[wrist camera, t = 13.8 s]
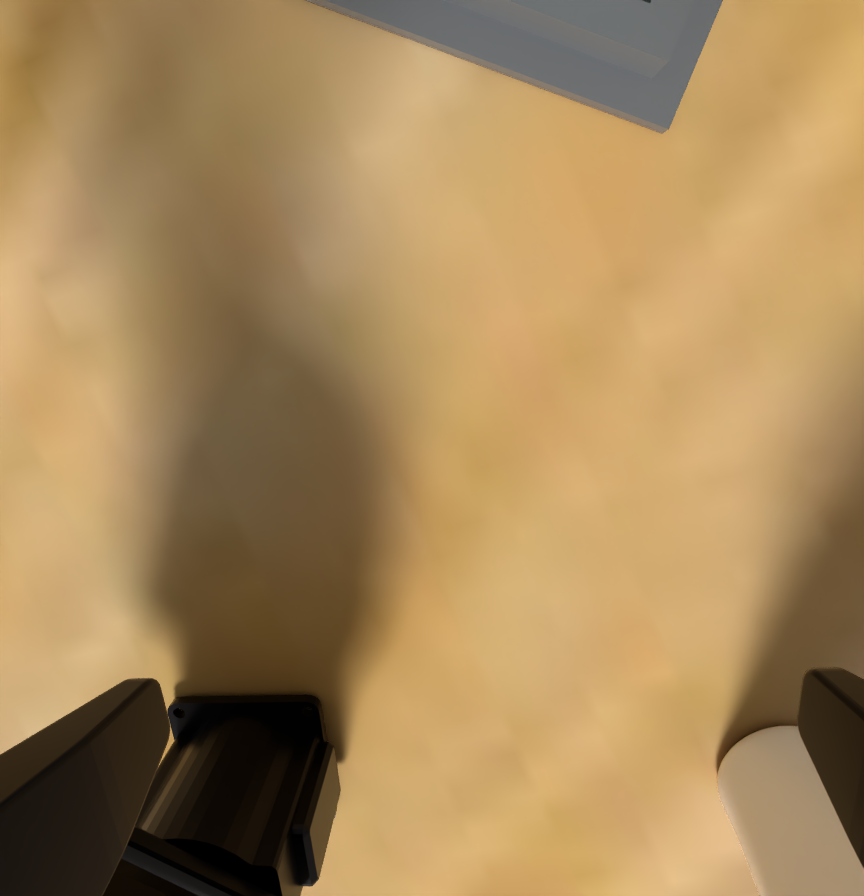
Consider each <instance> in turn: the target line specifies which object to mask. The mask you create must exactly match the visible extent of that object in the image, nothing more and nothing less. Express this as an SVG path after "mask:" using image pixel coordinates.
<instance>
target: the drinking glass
mask: <svg viewBox="0 0 864 896" xmlns="http://www.w3.org/2000/svg"><path fill="white" fill-rule="evenodd" d="M717 790H718V795H719V798H720V801H721V804H722V806H723V809H724V811H725V813H726V815H727V817H728V819H729V822H730V824H731V826H732V828H733V830H734V832H735V835H736V837H737V839H738V842H739V844H740V847H741V849H742V852H743V855H744V857H745V860H746V863H747V865H748V868H749V870H750V873H751V876H752V878H753V881H754V884H755V886H756V889H757V892H758V894H759V896H864V868H863V866H862V865H861V863H860V861H859V859H858V857H857V855H856V853H855V851H854V849H853V847H852V845H851V843H850V841H849V839H848V837H847V835H846V833H845V831H844V829H843V826H842V824H841V822H840V820H839V818H838V816H837V814H836V812H835V809H834V807H833V805H832V803H831V801H830V799H829V797H828V794H827V792H826V790H825V788H824V786H823V784H822V782H821V779H820V777H819V775H818V773H817V771H816V769H815V767H814V764H813V762H812V760H811V758H810V756H809V754H808V752H807V750H806V747H805V745H804V743H803V741H802V739H801V736H800V733H799V730H798V726H775V727H770V728H766V729H762V730H759V731H757V732H754V733H752V734H750V735H748V736H746V737H745V738H743V739H741V740H740V741H739V742H737V743H736V744H735V745H734V746H733V747H732V748H731V749H730V750H729V751H728V753H727V754H726V755H725V757H724V758H723V760H722V762H721V764H720V767H719V770H718V775H717Z"/></svg>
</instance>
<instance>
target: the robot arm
mask: <svg viewBox="0 0 864 896" xmlns="http://www.w3.org/2000/svg"><path fill="white" fill-rule="evenodd" d="M305 707H310V708H311V709H312V710H309V709H307V708H305ZM179 708H180V709H182V710H183V711H182V710H180V709H179ZM168 716H169V718H168ZM169 720H170V722H169ZM170 724H171V728H172V732H173V736H174V740H175V741H174V742H173V744H172V746H171V747H170V749H169V750H168V752H167V754H166V755H165V757H164V758H163V760H162V762H161V763H160V761H161V758H162V755H163V753H164V750H165V748H166V745H167V742H168V739H169V734H170ZM797 724H798V730H799V733H800V736H801V739H802V741H803V743H804V745H805V747H806V750H807V752H808V754H809V756H810V758H811V760H812V762H813V764H814V767H815V769H816V771H817V773H818V775H819V777H820V779H821V782H822V784H823V786H824V788H825V790H826V792H827V794H828V797H829V799H830V801H831V803H832V805H833V807H834V809H835V812H836V814H837V816H838V818H839V820H840V822H841V824H842V826H843V829H844V831H845V833H846V835H847V837H848V839H849V841H850V843H851V845H852V847H853V849H854V851H855V853H856V855H857V857H858V859H859V861H860V863H861V865H862V866H863V868H864V680H863V679H862V678H860V677H858V676H856V675H854V674H852V673H850V672H848V671H846V670H844V669H841V668H810V669H808V670H807V671H806V672H805V674H804V676H803V681H802V688H801V694H800V701H799V708H798V715H797ZM159 763H160V765H159ZM339 795H340V783H339V776H338V769H337V763H336V756H335V749H334V746H333V745H332V744H331V742H327V736H326V730H325V724H324V717H323V711H322V704H321V702H320V700H319V699H318V698H317V697H315V696H312V695H264V696H190V697H177V698H176V699H174V700H173V702H172V703H171V705H170V706H169V708H168V714H167V710H166V706H165V702H164V698H163V694H162V690H161V687H160V684H159V683H158V681H157V680H155V679H152V678H136V679H127V680H125V681H123V682H121V683H119V684H118V685H116V686H114V687H113V688H111V689H109V690H108V691H106V692H104V693H103V694H101V695H99V696H98V697H96V698H94V699H93V700H91V701H89V702H88V703H86V704H84V705H83V706H81V707H79V708H78V709H76V710H74V711H73V712H71V713H69V714H68V715H66V716H64V717H63V718H61V719H59V720H58V721H56V722H54V723H53V724H51V725H49V726H47V727H46V728H44V729H42V730H41V731H39V732H37V733H36V734H34V735H32V736H31V737H29V738H27V739H26V740H24V741H22V742H21V743H19V744H17V745H16V746H14V747H12V748H11V749H9V750H7V751H6V752H4V753H2V754H1V755H0V896H300V895H301V891H302V888H303V886H313V885H314V884H315V883H316V882H317V881H318V879H319V876H320V872H321V868H322V864H323V860H324V856H325V852H326V848H327V844H328V840H329V836H330V832H331V828H332V824H333V819H334V818H335V815H336V811H337V803H338V799H339Z"/></svg>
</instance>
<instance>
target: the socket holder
mask: <svg viewBox="0 0 864 896" xmlns="http://www.w3.org/2000/svg"><path fill="white" fill-rule="evenodd" d="M306 1H309V2H311V3H314V4H317V5H319V6H322V7H325V8H327V9H330V10H333V11H335V12H338V13H341V14H343V15H346V16H349V17H351V18H354V19H357V20H360V21H362V22H365V23H368V24H370V25H373V26H376V27H378V28H381V29H384V30H386V31H389V32H392V33H394V34H397V35H400V36H402V37H405V38H408V39H410V40H413V41H416V42H418V43H421V44H424V45H426V46H429V47H432V48H435V49H437V50H440V51H443V52H445V53H448V54H451V55H453V56H456V57H459V58H461V59H464V60H467V61H469V62H472V63H475V64H477V65H480V66H483V67H485V68H488V69H491V70H493V71H496V72H499V73H501V74H504V75H507V76H509V77H512V78H515V79H518V80H520V81H523V82H526V83H528V84H531V85H534V86H536V87H539V88H542V89H544V90H547V91H550V92H552V93H555V94H558V95H560V96H563V97H566V98H568V99H571V100H574V101H576V102H579V103H582V104H584V105H587V106H590V107H593V108H595V109H598V110H601V111H603V112H606V113H609V114H611V115H614V116H617V117H619V118H622V119H625V120H627V121H630V122H633V123H635V124H638V125H641V126H643V127H646V128H649V129H651V130H654V131H657V132H659V133H664V132H665V131H667V130H668V129H669V127H670V125H671V123H672V120H673V118H674V116H675V113H676V111H677V108H678V106H679V104H680V101H681V99H682V96H683V94H684V92H685V89H686V87H687V85H688V82H689V80H690V77H691V75H692V73H693V70H694V68H695V65H696V63H697V61H698V58H699V56H700V54H701V51H702V49H703V46H704V44H705V42H706V39H707V37H708V34H709V32H710V30H711V27H712V25H713V22H714V20H715V18H716V15H717V13H718V11H719V8H720V6H721V3H722V1H723V0H306Z"/></svg>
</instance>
